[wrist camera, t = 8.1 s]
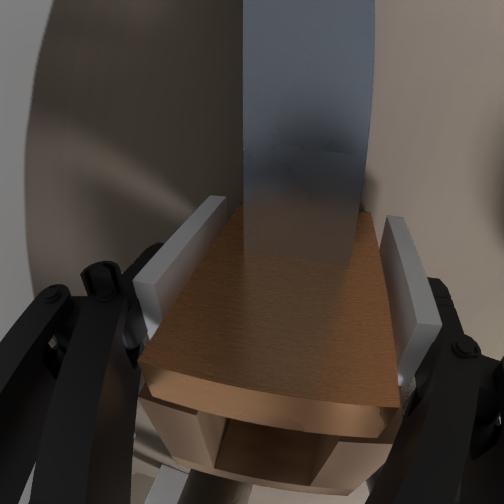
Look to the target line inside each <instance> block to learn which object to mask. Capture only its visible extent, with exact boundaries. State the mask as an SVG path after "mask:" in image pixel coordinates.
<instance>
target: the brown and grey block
mask: <svg viewBox="0 0 504 504" xmlns="http://www.w3.org/2000/svg"><path fill="white" fill-rule="evenodd" d="M374 46H375V2H374V0H243V201H242V203H241V204H240V206H239V207H238V209H237V210H236V212H235V213H234V214H233V216H232V217H231V219H230V220H229V222H228V223H227V224H226V226H225V227H224V229H223V230H222V232H221V233H220V235H219V236H218V238H217V239H216V241H215V242H214V243H213V245H212V246H211V248H210V249H209V251H208V252H207V254H206V255H205V257H204V258H203V260H202V261H201V263H200V264H199V266H198V267H197V269H196V270H195V272H194V273H193V275H192V276H191V278H190V279H189V281H188V282H187V284H186V285H185V287H184V288H183V290H182V291H181V293H180V294H179V296H178V297H177V299H176V300H175V302H174V304H173V305H172V307H171V308H170V310H169V311H168V313H167V314H166V316H165V317H164V319H163V321H162V322H161V324H160V325H159V327H158V328H157V330H156V331H155V333H154V335H153V336H152V338H151V339H150V341H149V343H148V344H147V346H146V347H145V349H144V350H143V352H142V354H141V355H140V357H139V358H138V360H137V361H138V364H139V366H140V369H141V371H142V374H143V376H144V378H145V381H146V383H147V385H148V387H149V390H150V392H151V394H152V396H153V397H156V398H159V399H162V400H166V401H169V402H172V403H175V404H179V405H182V406H185V407H189V408H193V409H196V410H200V411H204V412H207V413H211V414H215V415H219V416H223V417H228V418H232V419H237V420H241V421H246V422H251V423H256V424H261V425H266V426H272V427H278V428H284V429H290V430H297V431H304V432H311V433H320V434H329V435H339V436H351V437H367V438H377V437H378V436H379V435H380V434H381V432H382V431H383V430H384V428H385V427H386V426H387V424H388V423H389V422H390V420H391V419H392V418H393V416H394V415H395V413H396V412H397V411H398V409H399V408H400V403H399V387H398V375H397V364H396V354H395V345H394V337H393V329H392V321H391V314H390V308H389V301H388V295H387V289H386V283H385V278H384V272H383V267H382V262H381V257H380V252H379V247H378V243H377V238H376V234H375V229H374V225H373V221H372V217H371V213H369V212H362V211H359V207H360V200H361V194H362V187H363V180H364V172H365V165H366V156H367V148H368V138H369V129H370V118H371V105H372V91H373V74H374Z"/></svg>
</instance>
